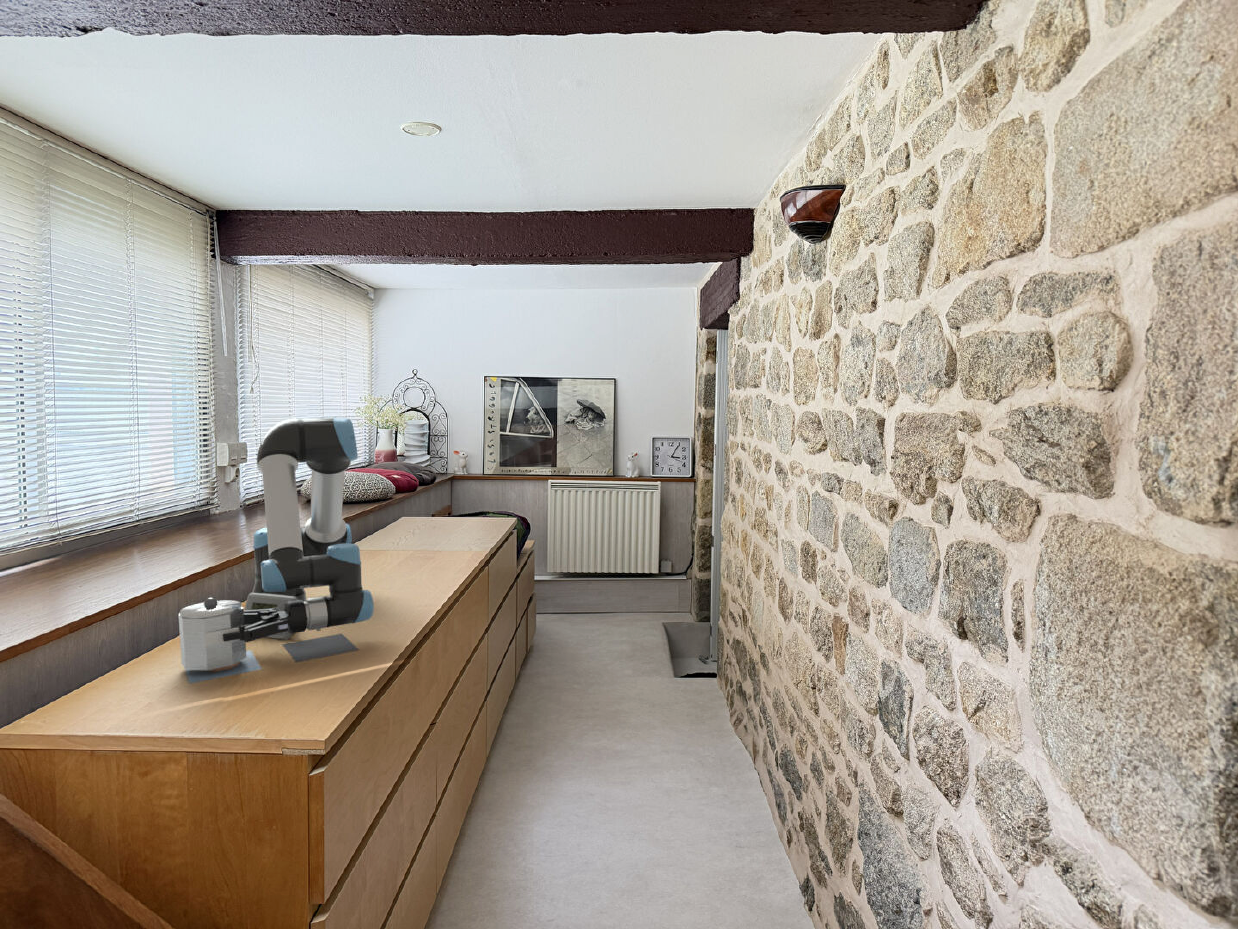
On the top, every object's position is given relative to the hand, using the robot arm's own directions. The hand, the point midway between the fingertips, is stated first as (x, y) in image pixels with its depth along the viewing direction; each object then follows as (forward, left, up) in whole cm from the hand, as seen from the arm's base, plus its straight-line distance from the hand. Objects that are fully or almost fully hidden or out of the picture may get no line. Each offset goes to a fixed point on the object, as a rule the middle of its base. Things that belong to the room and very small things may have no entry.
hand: (201, 632), depth 165 cm
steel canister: (0, +2, -7) cm, 7 cm away
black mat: (0, +25, -9) cm, 26 cm away
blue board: (0, +4, -9) cm, 10 cm away
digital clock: (-19, +17, -9) cm, 27 cm away
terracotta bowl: (0, +4, -8) cm, 9 cm away
